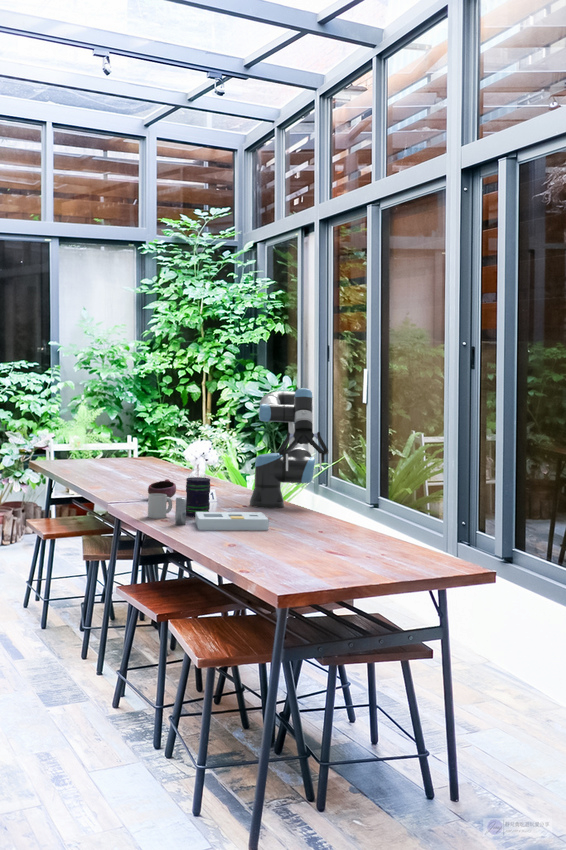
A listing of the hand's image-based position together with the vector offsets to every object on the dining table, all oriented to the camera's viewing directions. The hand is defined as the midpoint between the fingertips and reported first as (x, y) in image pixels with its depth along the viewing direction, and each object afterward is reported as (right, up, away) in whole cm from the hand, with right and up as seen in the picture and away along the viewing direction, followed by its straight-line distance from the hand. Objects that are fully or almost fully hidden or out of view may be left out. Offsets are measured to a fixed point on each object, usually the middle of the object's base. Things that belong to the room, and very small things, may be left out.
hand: (303, 469), depth 328 cm
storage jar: (-43, -19, +1) cm, 47 cm away
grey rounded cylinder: (-47, -20, -20) cm, 55 cm away
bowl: (-64, -16, +40) cm, 77 cm away
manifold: (-28, -20, -20) cm, 40 cm away
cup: (-57, -19, -6) cm, 60 cm away
